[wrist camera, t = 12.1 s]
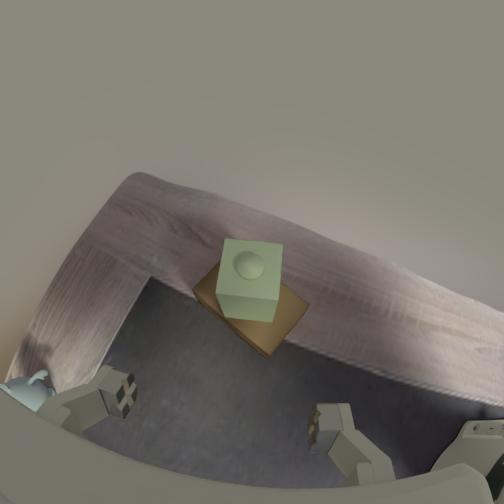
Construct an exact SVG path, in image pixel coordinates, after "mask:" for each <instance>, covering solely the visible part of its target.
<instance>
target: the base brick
mask: <svg viewBox="0 0 504 504" xmlns="http://www.w3.org/2000/svg"><path fill="white" fill-rule="evenodd" d="M220 263H221V260H220V261H219V262H218V263H217V264H216V265H215V266H214V267H213V269H212V270H211V271H210V272H209V273H208V274H207V275H206V276H205V277H204V278H203V279H202V280H201V281H200V282H199V283H198V284H197V285H196V286H195V287H194V288H193V289H192V290H193V292H194V294H195V296H196V297H197V299H198V301H199V302H200V303H201V304H202V305H203V306H204V307H205V308H206V309H208V310H209V311H210V312H211V313H212V314H213V315H214V316H216V317H217V318H218V319H219V320H220V321H221V322H223V323H224V324H225V325H226V326H227V327H228V328H230V329H231V330H232V331H233V332H234V333H236V334H237V335H238V336H239V337H240V338H242V339H243V340H244V341H245V342H246V343H248V344H249V345H250V346H251V347H252V348H254V349H255V350H256V351H257V352H259V353H260V354H261V355H262V356H264V357H265V358H266V359H268V358H269V356H270V355H271V354H272V353H273V352H274V350H275V349H276V348H277V347H278V346H279V344H280V343H281V342H282V341H283V340H284V338H285V337H286V336H287V335H288V334H289V332H290V331H291V330H292V329H293V327H294V326H295V325H296V324H297V322H298V321H299V320H300V319H301V317H302V316H303V315H304V313H305V312H306V310H307V309H308V307H309V306H310V304H309V303H307V302H306V301H305V300H303V299H302V298H301V297H299V296H298V295H297V294H295V293H294V292H293V291H291V290H290V289H289V288H287V287H286V286H285V285H283V284H282V283H281V282H280V291H279V301H278V304H277V308H276V311H275V314H274V318H273V321H272V322H263V321H253V320H244V319H236V318H228V317H225V316H224V314H223V311H222V309H221V306H220V304H219V301H218V299H217V296H216V294H215V292H216V286H217V280H218V275H219V269H220Z"/></svg>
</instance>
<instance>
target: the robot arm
mask: <svg viewBox="0 0 504 504" xmlns="http://www.w3.org/2000/svg"><path fill="white" fill-rule="evenodd" d="M134 380H135V378H134V374H132V373H129V372H126V371H123V370H120V369H117V368H114V367H111V366H108V365H103V366H102V367H101V368H100V370H99V371H98V372H97V373H96V375H95V376H94V377H93V378H92V380H91V381H90V382H89V383H88V385H87V384H83V385H80V386H78V387H75V388H72V389H70V390H67V391H64V392H61V393H59V394H56V395H53V396H50V397H48V398H47V399H46V400H45V401H44V403H43V404H42V405H41V406H40V407H39V409H38V410H37V411H36V412H34V411H33V410H31V409H30V408H28V407H27V406H25V405H24V404H22V403H21V402H19V401H18V400H17V399H15V398H14V397H12V396H11V395H10V394H8V393H7V392H6V391H4V390H3V389H2V388H0V504H504V419H501V420H470V421H467V422H466V423H465V424H464V425H463V427H462V429H461V430H460V432H459V434H458V436H457V438H456V439H455V440H454V441H453V443H452V444H451V445H450V446H449V447H448V448H447V449H446V450H445V451H444V452H443V453H442V454H441V455H440V457H439V458H438V459H437V461H436V462H435V464H434V466H433V467H432V469H431V471H430V472H428V473H425V474H421V475H417V476H412V477H408V478H403V479H399V480H396V478H395V474H394V470H393V466H392V462H391V459H390V458H389V457H388V456H387V455H386V454H384V453H383V452H382V451H381V450H380V449H379V448H378V447H377V446H375V445H374V444H373V443H372V442H371V441H370V440H369V439H368V438H366V437H365V436H364V435H363V434H362V433H361V432H360V431H359V430H355V426H354V422H353V417H352V413H351V408H350V405H349V403H315V404H314V406H313V413H312V414H310V417H309V422H308V434H309V435H310V438H309V441H308V444H309V452H310V453H327V454H328V455H329V456H330V458H331V459H332V460H333V462H334V463H335V464H336V465H337V467H338V468H339V469H340V471H341V472H342V473H343V474H344V476H345V477H346V479H345V481H344V482H343V483H342V484H341V485H340V486H339V487H338V488H318V489H290V488H269V487H257V486H247V485H239V484H232V483H225V482H219V481H213V480H208V479H203V478H198V477H193V476H189V475H185V474H181V473H177V472H173V471H169V470H165V469H162V468H158V467H155V466H152V465H149V464H146V463H142V462H139V461H137V460H134V459H131V458H128V457H125V456H123V455H120V454H118V453H115V452H113V451H110V450H108V449H105V448H103V447H101V446H98V445H96V444H94V443H92V442H89V441H87V440H86V438H85V436H84V435H83V433H82V431H83V430H85V429H87V428H88V427H90V426H92V425H94V424H95V423H97V422H99V421H100V420H102V419H104V418H105V417H107V416H109V415H112V416H115V417H118V418H121V419H124V420H125V418H126V416H127V415H128V413H129V411H130V409H129V406H130V405H132V404H134V402H135V400H136V397H137V386H136V385H135V384H134V383H133V382H134ZM473 428H474V429H473Z"/></svg>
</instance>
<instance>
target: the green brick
mask: <svg viewBox="0 0 504 504" xmlns="http://www.w3.org/2000/svg"><path fill="white" fill-rule="evenodd" d="M282 253H283V244H278V243H269V242H259V241H249V240H238V239H228V238H225V241H224V247H223V252H222V258H221V263H220V269H219V275H218V280H217V286H216V292H215V294H216V296H217V299H218V301H219V304H220V306H221V309H222V311H223V314H224V316H225V317H228V318H236V319H244V320H253V321H263V322H272V321H273V318H274V314H275V311H276V308H277V304H278V301H279V291H280V279H281V266H282Z"/></svg>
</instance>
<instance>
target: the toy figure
mask: <svg viewBox="0 0 504 504" xmlns="http://www.w3.org/2000/svg"><path fill="white" fill-rule="evenodd" d="M47 375H48V371H47V370H45V369H42V370H39V371H38V372H36V373H35V374H34V375H33V376H32V377H27V376H24V377H18V378H15V379H12V380H10V381H8V382H7V383H0V388H2V389H3V390H4V391H6V392H7V393H8V394H10V395H11V396H12V397H14V398H15V399H17V400H18V401H19V402H21V403H22V404H24V405H25V406H27V407H28V408H30V409H31V410H33V411H34V412H36V411H37V410H38V409H39V407H40V406H41V405H42V404H43V403H44V401H45V400H46V399H47V398H48V397H50V396H53V395H56V392H55V390H54V389H53V388H48V389H47V388H46V387H45V386H44V385H43V384H42V383H41V382H40V381H39V380H37V379H41V380H44V377H45V376H47Z"/></svg>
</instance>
